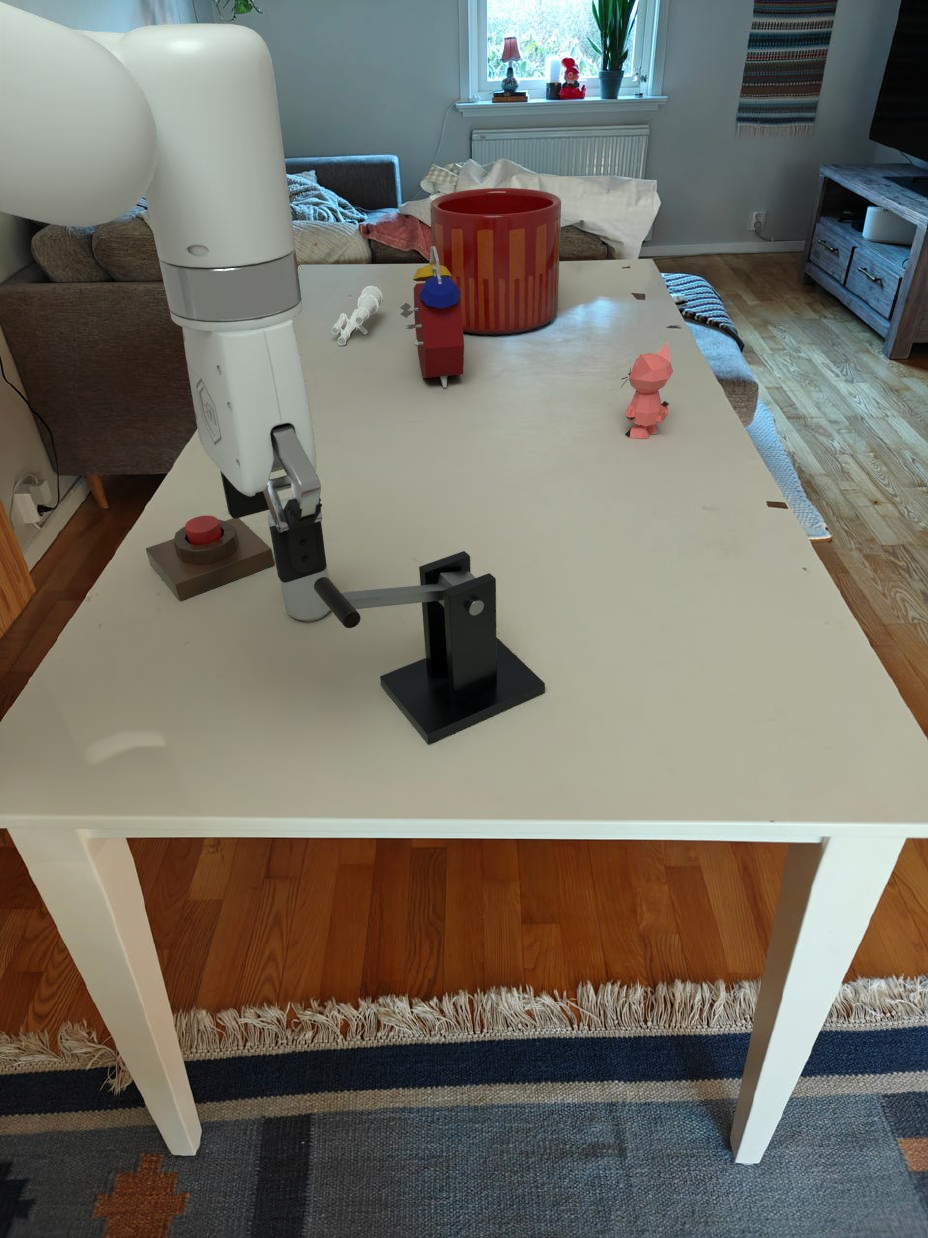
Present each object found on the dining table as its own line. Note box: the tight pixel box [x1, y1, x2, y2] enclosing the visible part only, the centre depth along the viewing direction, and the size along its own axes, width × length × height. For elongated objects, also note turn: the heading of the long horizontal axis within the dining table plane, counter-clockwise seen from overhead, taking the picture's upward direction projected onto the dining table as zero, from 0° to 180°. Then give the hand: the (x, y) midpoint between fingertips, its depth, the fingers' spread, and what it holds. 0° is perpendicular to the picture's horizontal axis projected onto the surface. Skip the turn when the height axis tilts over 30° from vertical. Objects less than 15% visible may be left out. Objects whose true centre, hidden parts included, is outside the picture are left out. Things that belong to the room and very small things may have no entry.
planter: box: [429, 187, 562, 336], centre depth 154 cm, size 23×23×20 cm
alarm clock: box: [399, 246, 465, 389], centre depth 131 cm, size 15×9×20 cm, turn 9°
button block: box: [145, 517, 275, 602], centre depth 94 cm, size 11×9×4 cm
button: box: [184, 514, 222, 545], centre depth 92 cm, size 4×4×2 cm
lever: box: [314, 571, 476, 629], centre depth 68 cm, size 13×6×2 cm, turn 121°
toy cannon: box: [331, 285, 384, 347], centre depth 154 cm, size 8×14×5 cm
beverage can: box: [267, 496, 331, 623], centre depth 84 cm, size 5×5×12 cm
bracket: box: [379, 550, 546, 746], centre depth 73 cm, size 12×9×13 cm
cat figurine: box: [620, 341, 674, 440], centre depth 115 cm, size 7×7×12 cm
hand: (275, 541), depth 59 cm, fingers open, 9 cm apart
